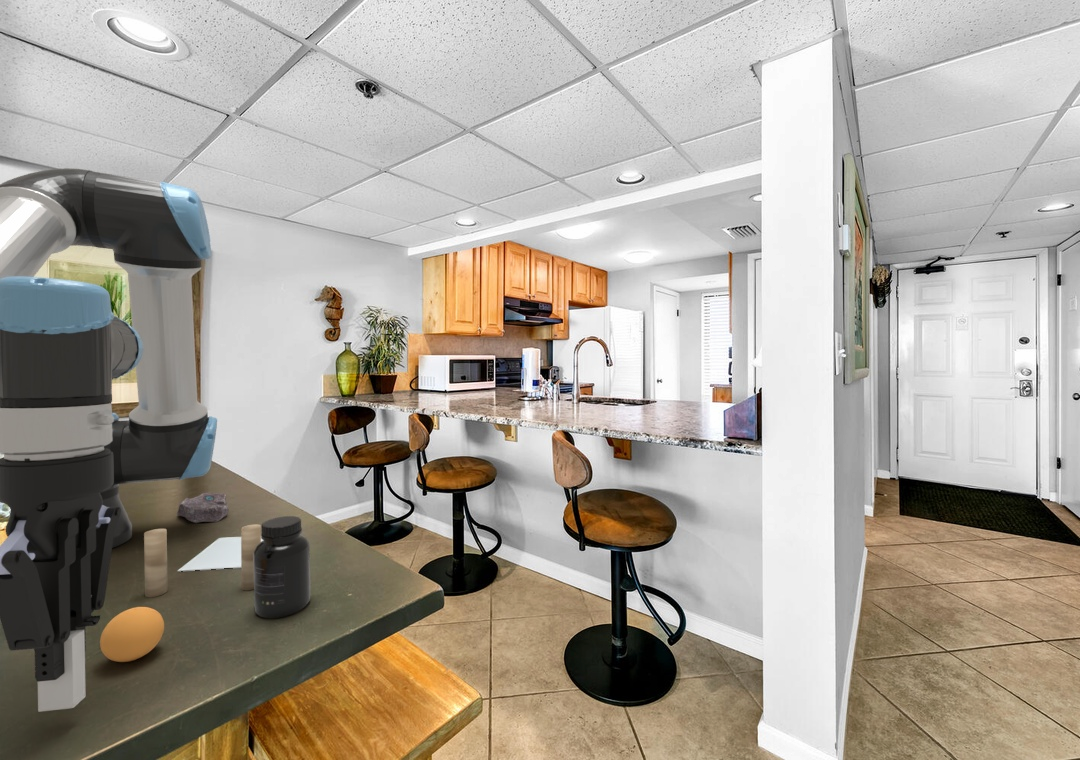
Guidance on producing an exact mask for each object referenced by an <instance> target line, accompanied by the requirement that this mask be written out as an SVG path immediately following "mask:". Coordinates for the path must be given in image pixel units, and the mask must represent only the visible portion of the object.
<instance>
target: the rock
mask: <svg viewBox="0 0 1080 760" xmlns="http://www.w3.org/2000/svg"><path fill="white" fill-rule="evenodd" d="M227 504H228V503H227V495H226V494H225V493H222V492H203V493H201V494H199V495H198V496H195V497H191V498H189V497H186V498H184V500H182V501H181V503H180V504H179V505H178V509H177V512H176V515H177V516H179V517H182V518H185V519H186V520H188V521H189V522H191V523H193V524H198V523H202V522H205V523H207V522H211V523H216V522H219V521H221V520H222V519H223V518H225V517H227V515H228V513H229V506H228V505H227Z"/></svg>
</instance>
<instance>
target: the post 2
mask: <svg viewBox="0 0 1080 760" xmlns="http://www.w3.org/2000/svg"><path fill="white" fill-rule="evenodd" d="M261 534H262V524H248V525H245V526H242V527H241V529H240V535H241V536H240V537H241V568H240V570H241V571H240V572H241V577H240V578H241V580H240V581H241V585H240V586H241V588H240V589H241V590H242V591H254V563H253V553H254V550H255V548H256V546H257V545H258V544H259V543H260V542H261Z"/></svg>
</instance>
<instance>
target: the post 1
mask: <svg viewBox="0 0 1080 760" xmlns="http://www.w3.org/2000/svg"><path fill="white" fill-rule="evenodd" d="M167 535H168V532H167V528H155V529H151V530H147V531H145V532H144V533H143V536H144V537H143V541H144V545H143V546H144V547H143V549H144V550H143V551H144V559H143V560H144V596H145V598H154V597H155V598H156V597H159V596H162V595H164V594H166V593H168V545H167V544H168V543H167V541H168V539H167V538H168V537H167Z"/></svg>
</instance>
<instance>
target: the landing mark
mask: <svg viewBox="0 0 1080 760" xmlns="http://www.w3.org/2000/svg"><path fill="white" fill-rule="evenodd" d="M262 541H263V540H262V539H261V542H262ZM224 568H233V569H241V536H230V537H226V536H225V537H218V538H217V539H216V540H214V542H212V543H211V544H209V545H208V546H207V547H206V548H204V549H203V550H202V551H200V553H198V554H197V555H195V557H193V558H191V559H190V560H189V561H187V563H185V564H184V565H183V566H182V567H180V568H179V569H178V570H177V572H178V573H181V571H183V572H195V570H200V571H211V569H216V570H225V569H224Z"/></svg>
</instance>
